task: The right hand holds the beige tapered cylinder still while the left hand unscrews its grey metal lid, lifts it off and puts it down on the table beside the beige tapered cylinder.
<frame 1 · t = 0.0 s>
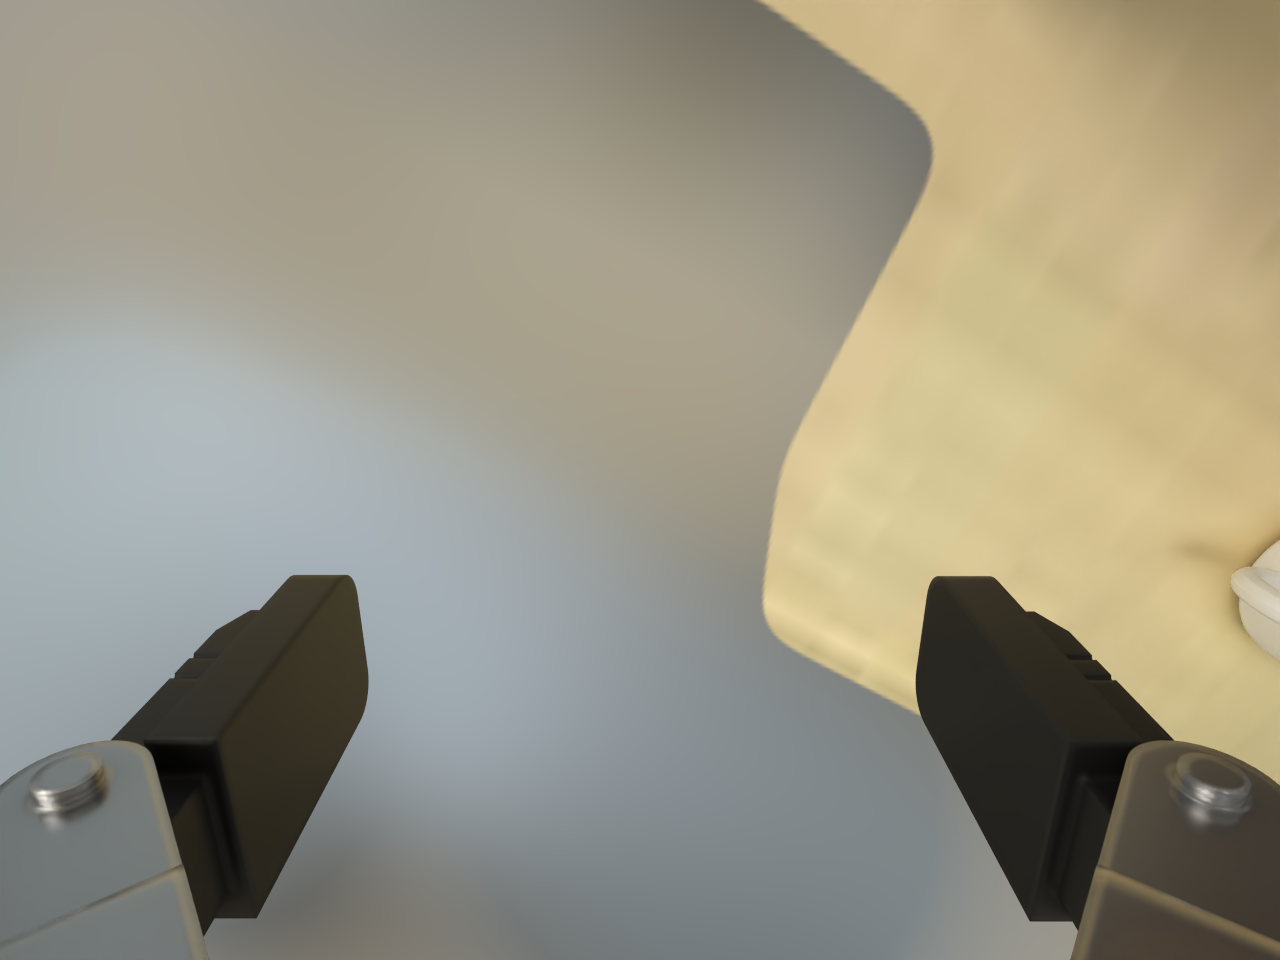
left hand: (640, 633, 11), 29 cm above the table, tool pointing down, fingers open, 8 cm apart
mug: (1277, 575, 43), on the table
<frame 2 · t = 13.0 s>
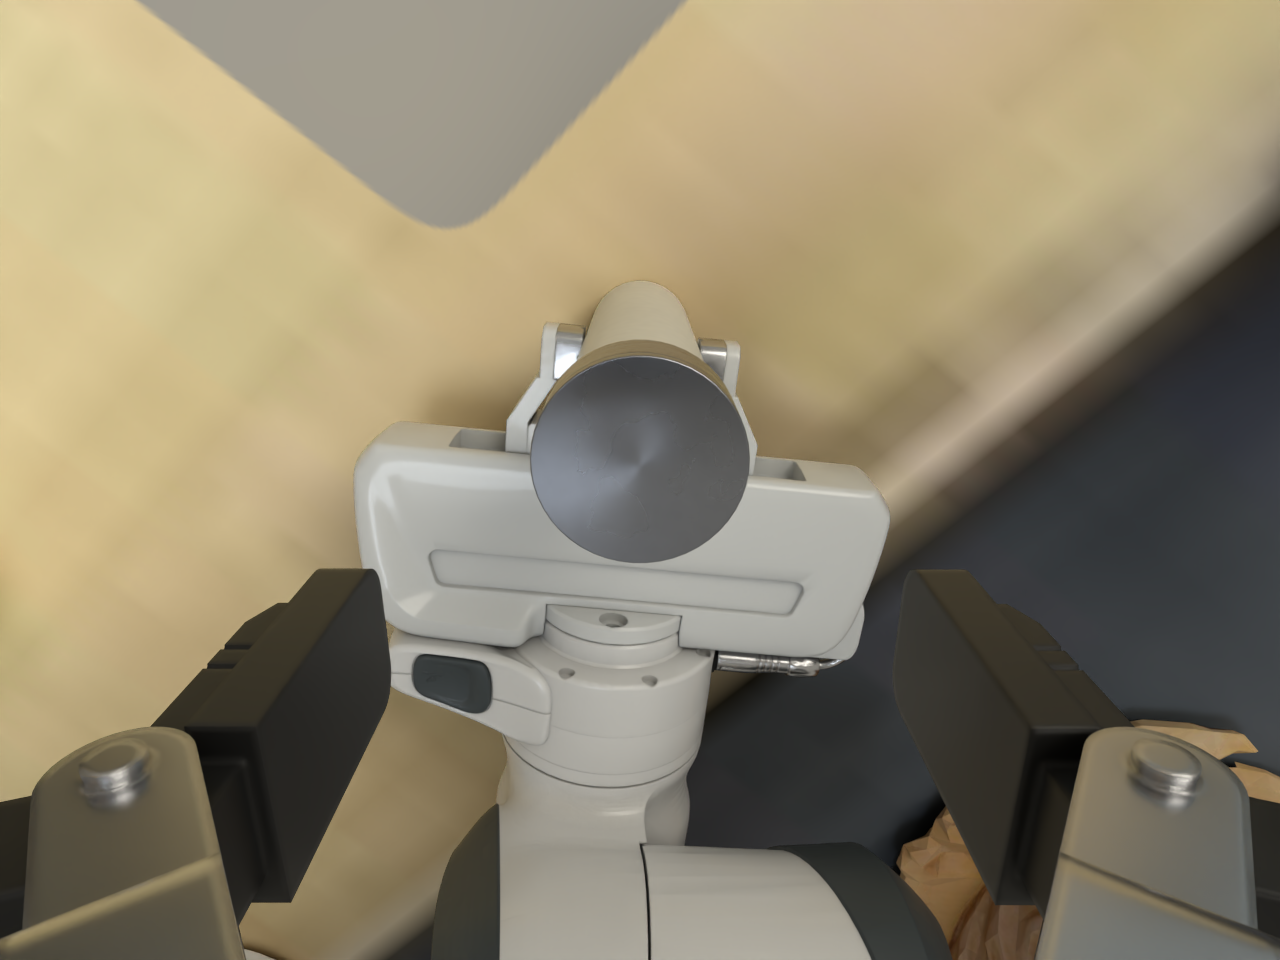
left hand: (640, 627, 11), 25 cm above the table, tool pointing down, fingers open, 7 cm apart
right hand: (641, 333, 29), fingers closed on beige tapered cylinder, 4 cm apart
lid: (639, 459, 18), point 18 cm above the table, screwed on, not yet turned
sculpture: (1115, 892, 46), on the table
beige tapered cylinder: (640, 330, 35), on the table, touching right hand
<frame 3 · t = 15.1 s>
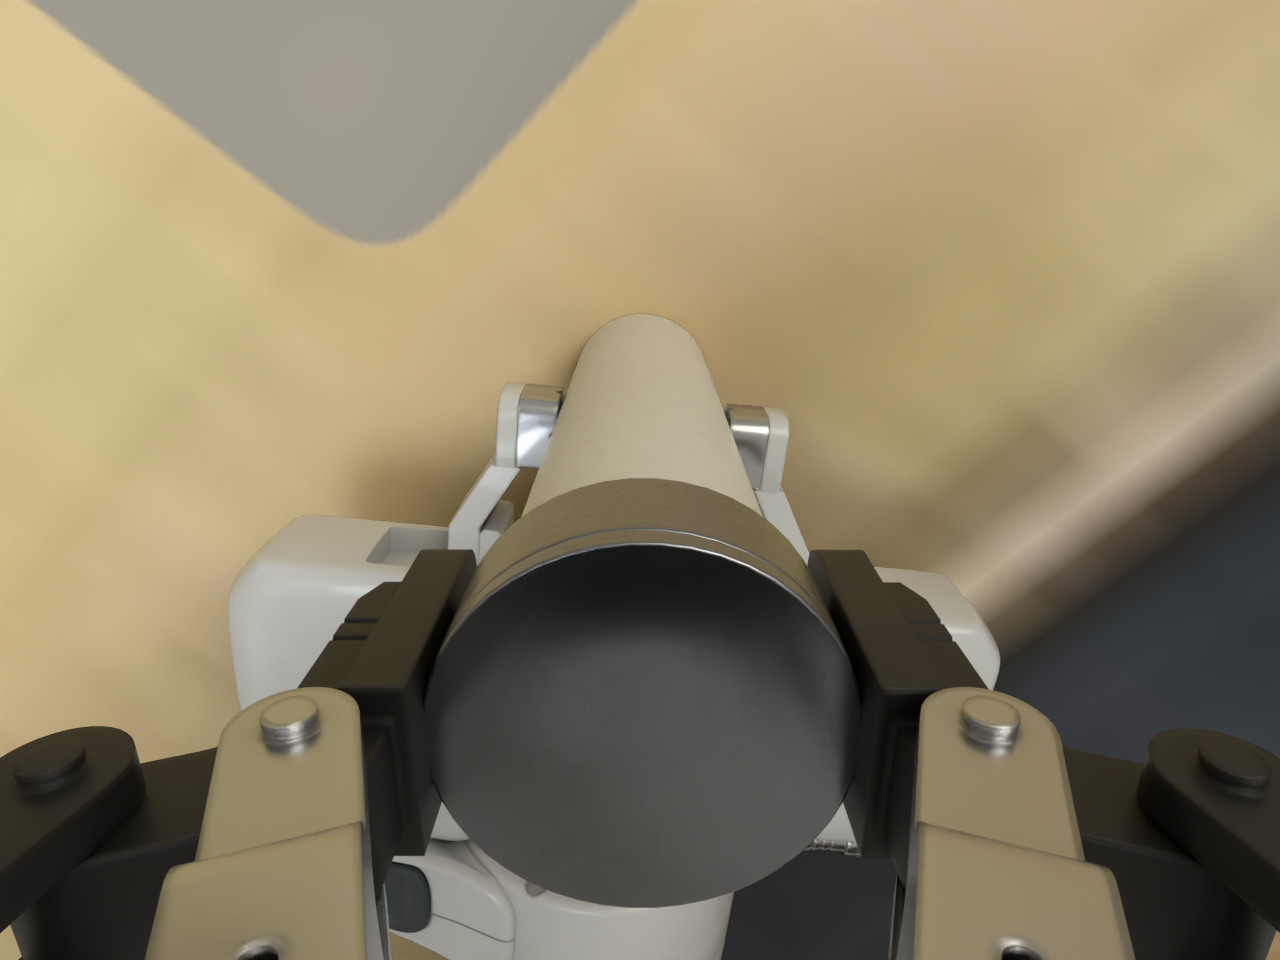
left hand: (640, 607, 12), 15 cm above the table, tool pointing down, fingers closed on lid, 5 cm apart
lid: (642, 723, 9), point 18 cm above the table, screwed on, not yet turned, touching left hand
beige tapered cylinder: (641, 380, 26), on the table, touching right hand
when the left hand's fingers open (15 cm above the table, at t = 16.5 s): lid stays where it is, point 18 cm above the table.
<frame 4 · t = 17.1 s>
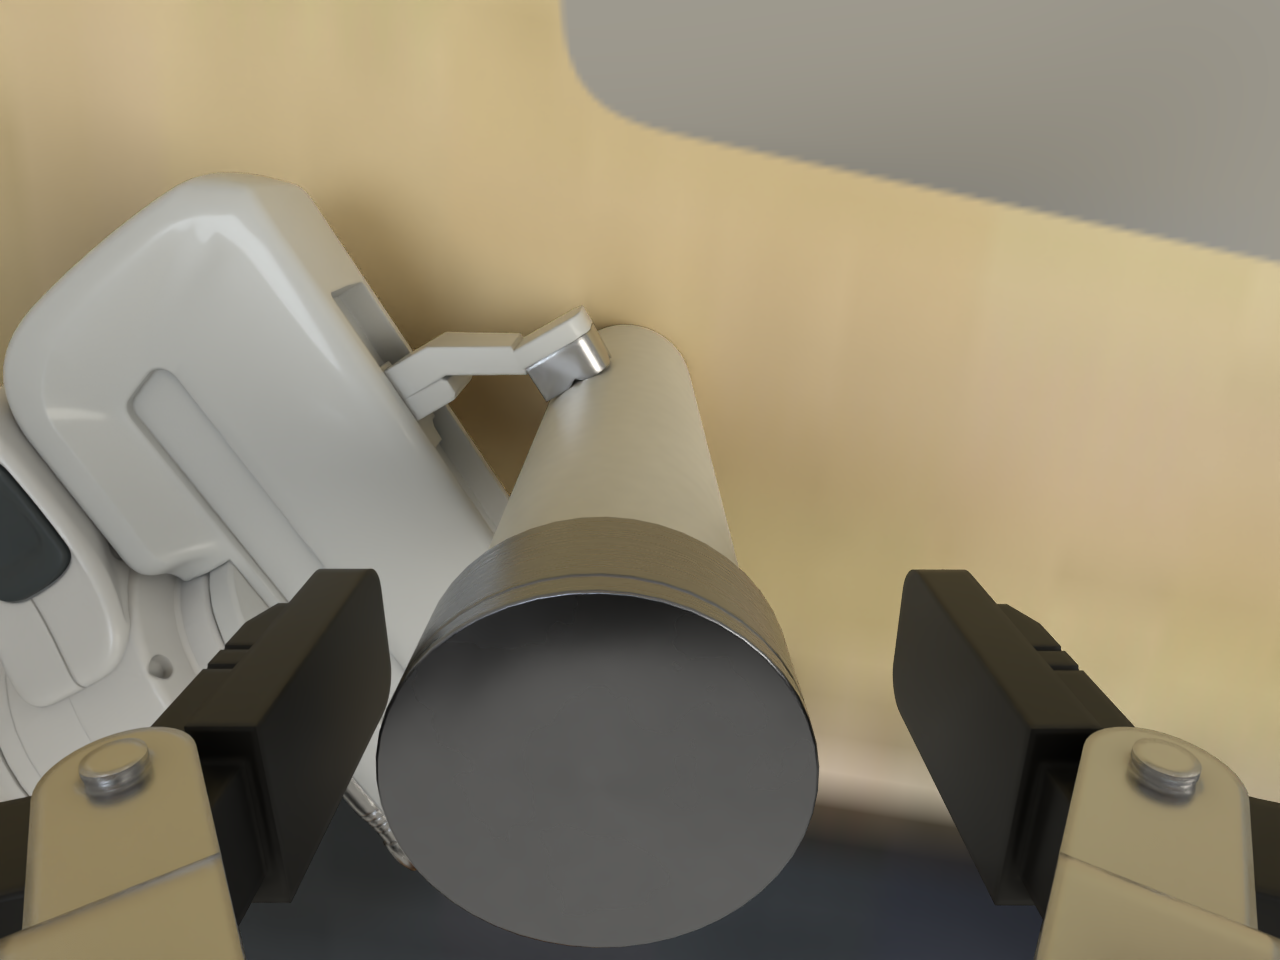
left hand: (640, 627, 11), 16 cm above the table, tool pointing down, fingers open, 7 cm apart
right hand: (652, 428, 20), fingers closed on beige tapered cylinder, 4 cm apart
lid: (599, 766, 9), point 18 cm above the table, turned 80° so far, risen 0.3 cm, still on its thread
beige tapered cylinder: (625, 389, 26), on the table, touching right hand
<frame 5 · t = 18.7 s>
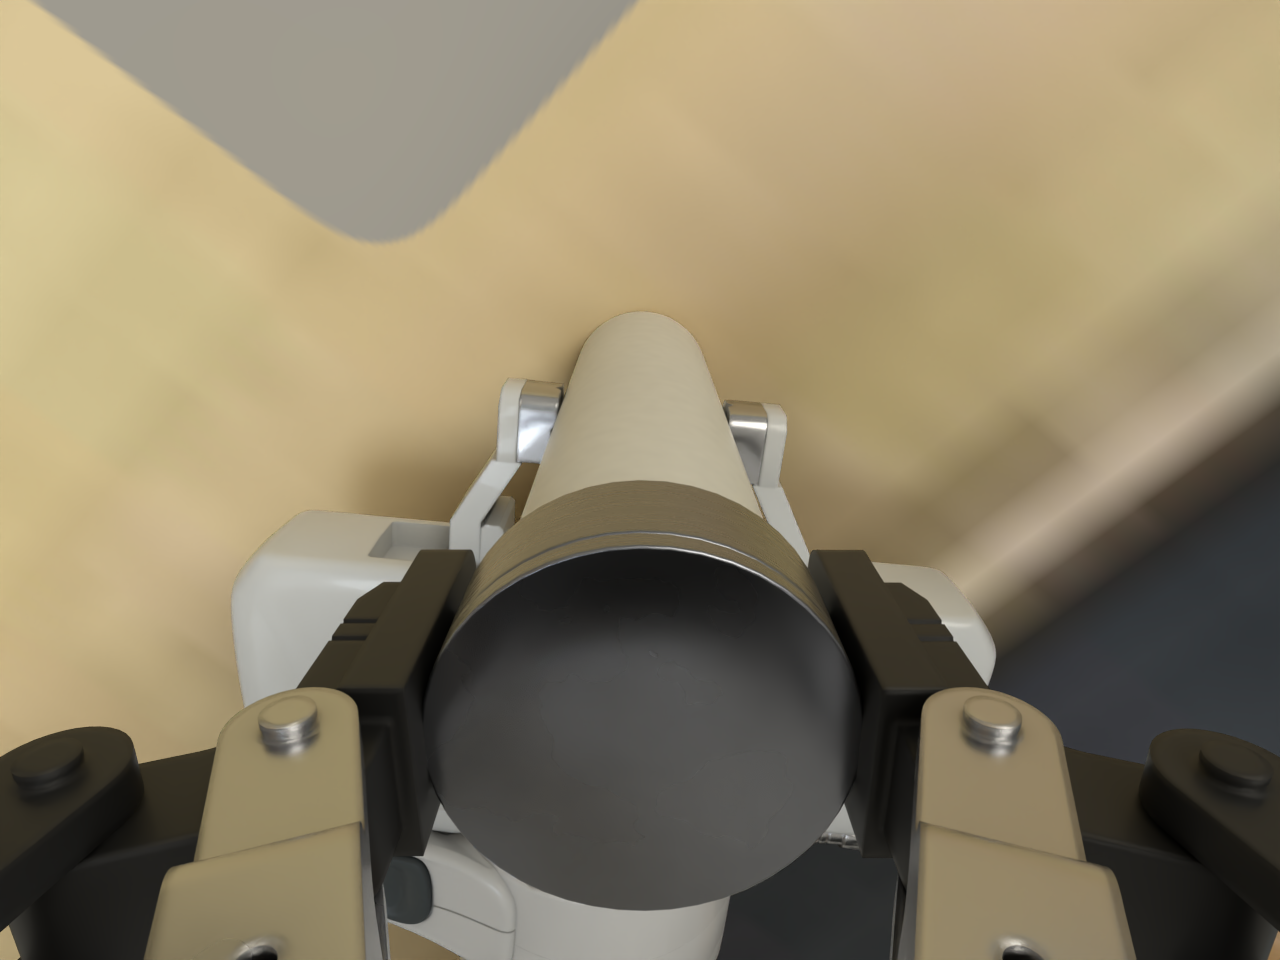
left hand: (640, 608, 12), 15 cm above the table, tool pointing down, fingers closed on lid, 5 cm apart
lid: (642, 727, 9), point 18 cm above the table, turned 80° so far, risen 0.3 cm, still on its thread, touching left hand
beige tapered cylinder: (641, 376, 26), on the table, touching right hand
when the left hand's fingers open (0 cm above the table, at t = 26.4 s): lid drops 2 cm, point 2 cm above the table.
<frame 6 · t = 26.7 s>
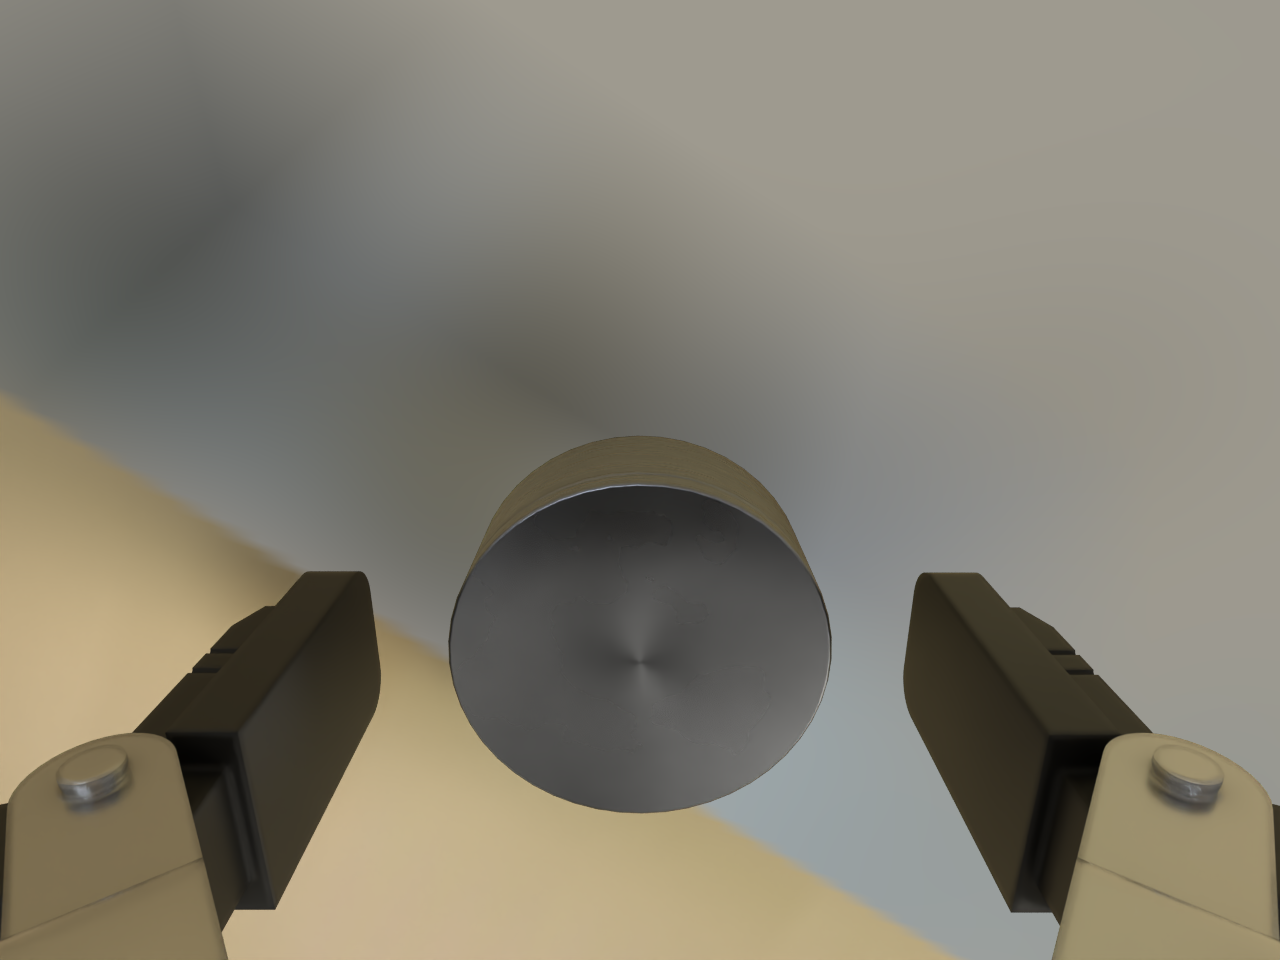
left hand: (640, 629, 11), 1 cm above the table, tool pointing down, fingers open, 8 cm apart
lid: (640, 647, 11), point 2 cm above the table, off its thread
when the right hand's fingers open (6 cm above the table, at t = 27.4 s): beige tapered cylinder stays where it is, on the table.
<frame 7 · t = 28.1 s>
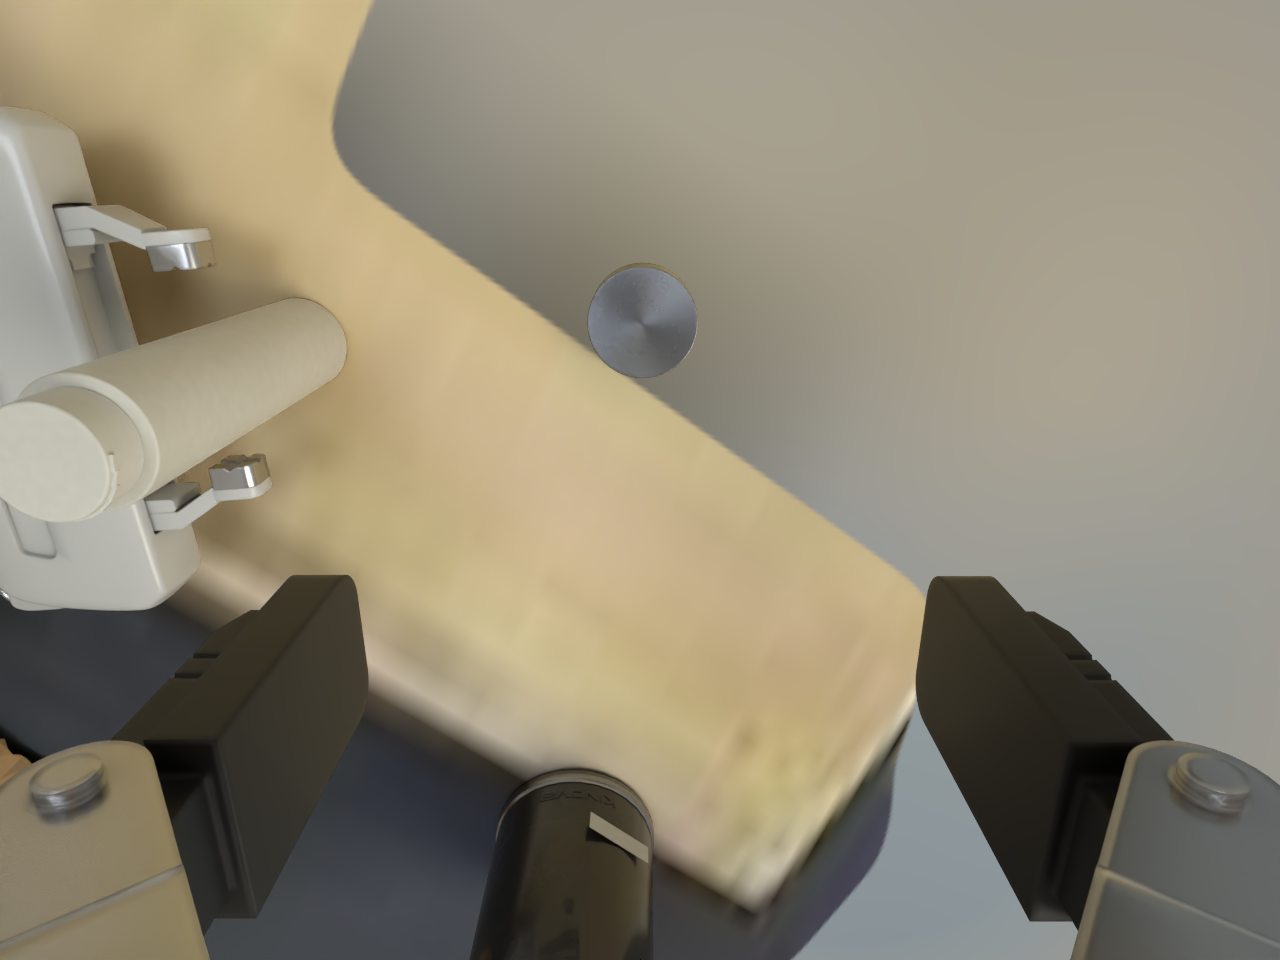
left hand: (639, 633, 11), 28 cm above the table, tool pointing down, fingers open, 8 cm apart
right hand: (236, 367, 32), fingers open, 8 cm apart
lid: (642, 322, 36), point 2 cm above the table, off its thread
beige tapered cylinder: (302, 343, 38), on the table
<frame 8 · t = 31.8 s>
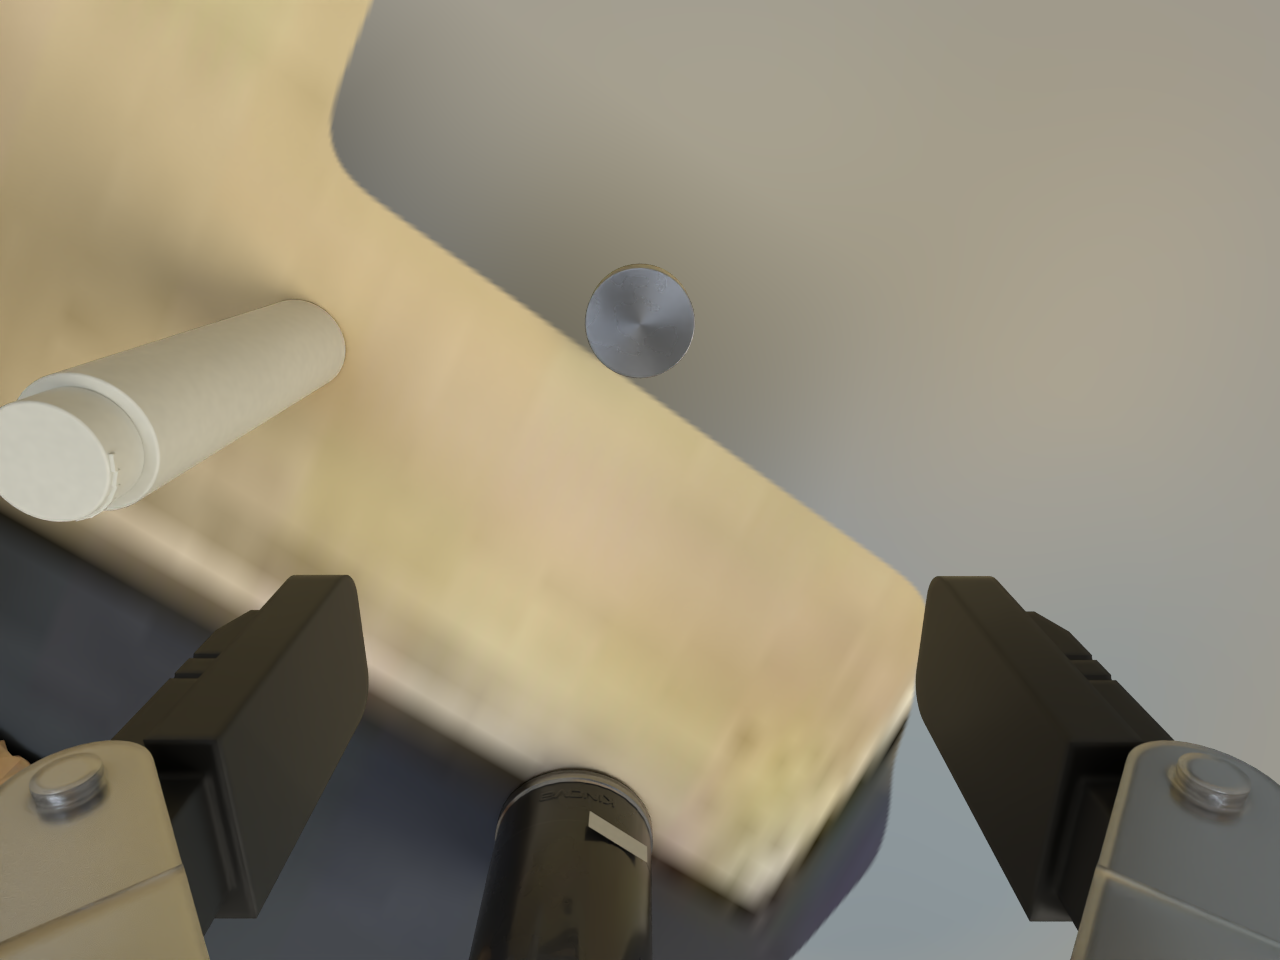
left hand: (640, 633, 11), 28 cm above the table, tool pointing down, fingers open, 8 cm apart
lid: (640, 323, 36), point 2 cm above the table, off its thread
beige tapered cylinder: (301, 344, 38), on the table
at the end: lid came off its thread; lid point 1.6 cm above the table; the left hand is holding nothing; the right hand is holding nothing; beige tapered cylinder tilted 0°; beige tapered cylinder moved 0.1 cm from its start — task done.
